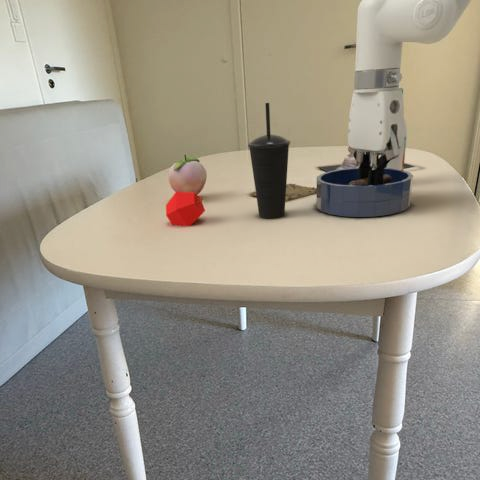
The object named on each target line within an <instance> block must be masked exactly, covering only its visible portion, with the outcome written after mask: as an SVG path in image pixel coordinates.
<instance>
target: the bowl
mask: <svg viewBox="0 0 480 480" xmlns="http://www.w3.org/2000/svg"><path fill="white" fill-rule="evenodd" d="M385 174H388V175H390V176H391V178H392V181H391V183H389V184H381V185H365V186H353V185H348V184H349V183H350V182H351V181H355V180H358V168H350V169H341V170H335V171H329V172H326V171H325V172H323V173H320V174H319V175H317V176H316V188H317V194H316V209H317V210H319V211H320V212H321V213H325V214H328V215H334V216H339V217H349V218H351V217H352V218H374V217H375V218H376V217H383V216H389V215H394V214H398V213H402V212H403V211H405V210H407V209H409V207H410V205H411V200H412V191H413V182H414V175H413V174H412V172H410V171H407V170H405V169H404V170H398V169H392V168H384V175H385Z"/></svg>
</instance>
